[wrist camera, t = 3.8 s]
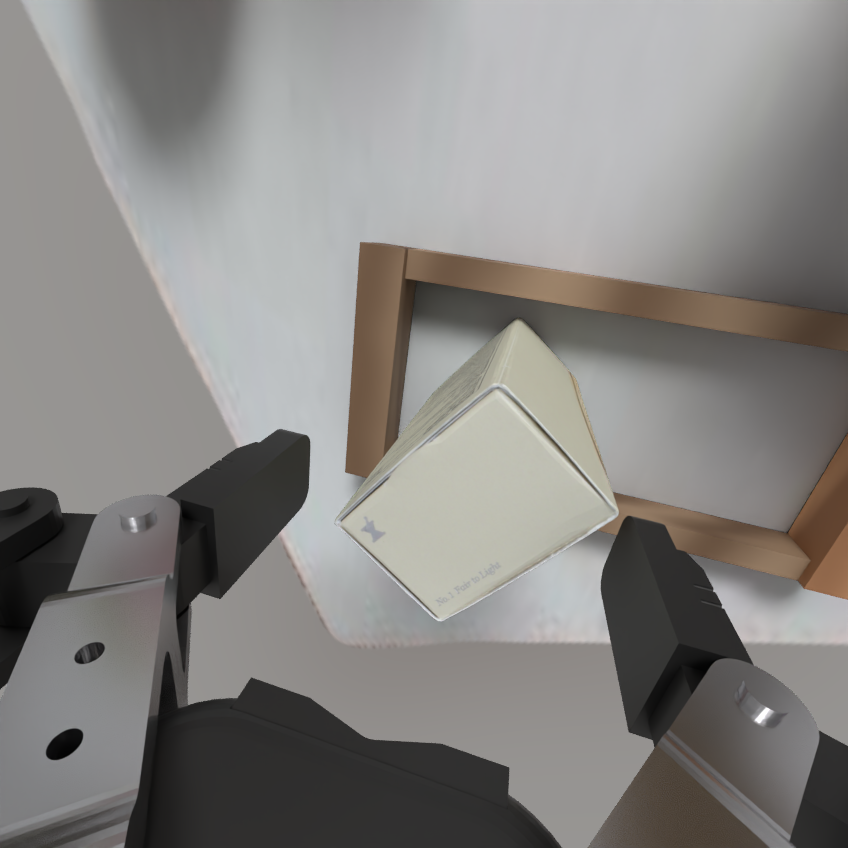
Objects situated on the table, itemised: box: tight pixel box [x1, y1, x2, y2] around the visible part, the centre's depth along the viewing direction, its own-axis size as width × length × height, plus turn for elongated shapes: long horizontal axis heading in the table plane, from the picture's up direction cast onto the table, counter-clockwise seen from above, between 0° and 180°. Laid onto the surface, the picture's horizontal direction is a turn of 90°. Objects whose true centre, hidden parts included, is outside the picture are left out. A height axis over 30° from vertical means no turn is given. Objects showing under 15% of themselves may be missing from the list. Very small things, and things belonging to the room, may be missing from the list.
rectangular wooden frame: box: [345, 242, 848, 600], centre depth 19 cm, size 24×11×2 cm, turn 82°
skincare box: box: [335, 318, 619, 622], centre depth 16 cm, size 6×4×12 cm
